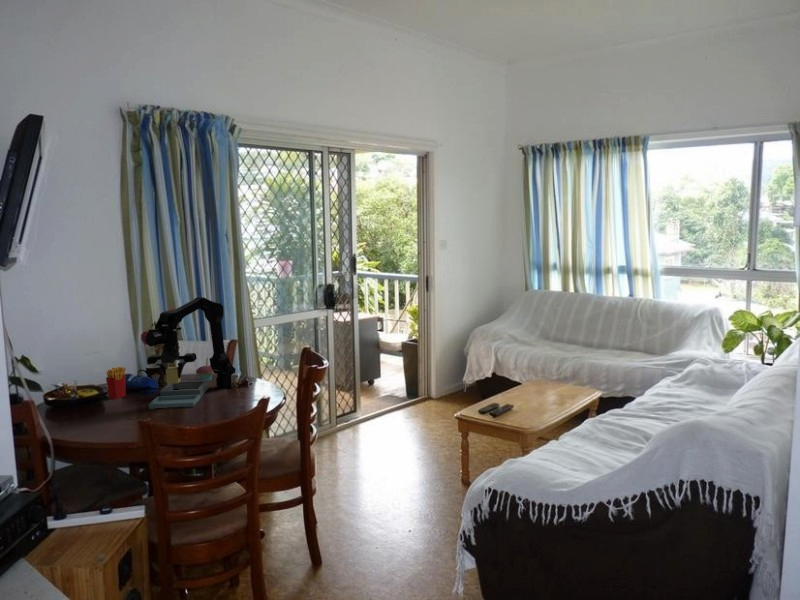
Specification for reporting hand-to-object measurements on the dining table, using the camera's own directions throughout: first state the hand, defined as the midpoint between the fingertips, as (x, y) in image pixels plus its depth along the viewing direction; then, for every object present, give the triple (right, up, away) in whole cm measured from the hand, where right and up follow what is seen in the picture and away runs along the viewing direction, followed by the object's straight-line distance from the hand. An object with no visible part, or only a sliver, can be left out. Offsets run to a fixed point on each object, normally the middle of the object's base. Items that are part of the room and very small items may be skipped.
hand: (173, 378), depth 264 cm
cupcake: (+1, -6, +40) cm, 41 cm away
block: (0, -2, 0) cm, 2 cm away
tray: (0, -11, +1) cm, 11 cm away
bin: (-1, -9, +18) cm, 20 cm away
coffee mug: (-20, -8, +31) cm, 37 cm away
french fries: (-30, -10, +15) cm, 35 cm away
